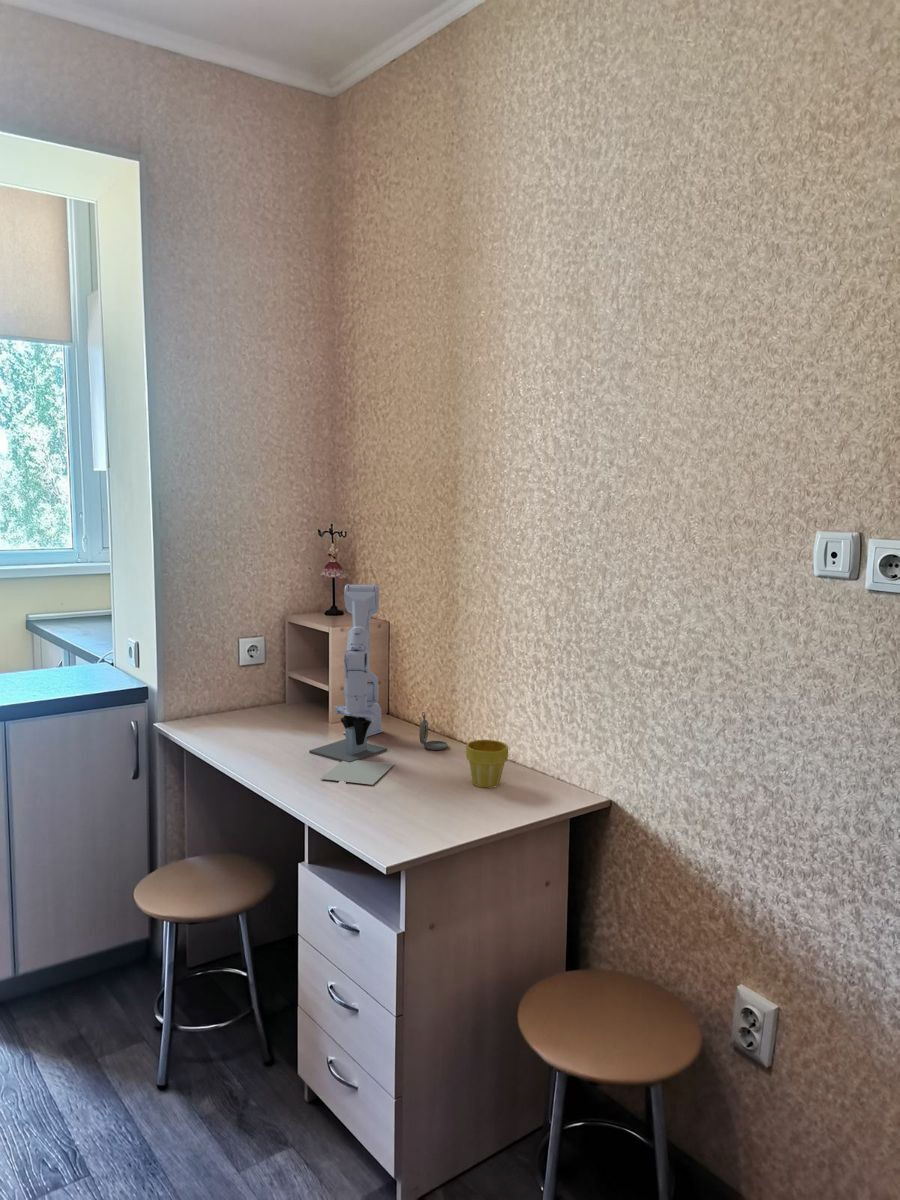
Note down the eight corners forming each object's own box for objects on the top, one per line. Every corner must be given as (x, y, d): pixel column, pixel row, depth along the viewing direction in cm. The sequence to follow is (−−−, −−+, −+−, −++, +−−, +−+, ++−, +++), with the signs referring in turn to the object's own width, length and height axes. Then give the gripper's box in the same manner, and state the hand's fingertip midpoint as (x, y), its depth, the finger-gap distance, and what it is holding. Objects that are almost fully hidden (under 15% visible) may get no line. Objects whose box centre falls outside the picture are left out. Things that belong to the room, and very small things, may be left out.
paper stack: (429, 770, 224) (429, 767, 224) (398, 803, 200) (398, 800, 200) (345, 761, 230) (345, 758, 230) (305, 792, 206) (305, 789, 206)
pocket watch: (451, 749, 240) (451, 714, 239) (422, 752, 237) (423, 717, 236) (440, 741, 248) (441, 707, 247) (412, 744, 245) (413, 710, 243)
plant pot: (514, 781, 215) (515, 743, 214) (495, 793, 206) (496, 754, 205) (478, 774, 220) (478, 736, 219) (457, 785, 212) (458, 747, 210)
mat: (347, 740, 248) (347, 738, 248) (387, 750, 239) (387, 748, 239) (309, 752, 236) (309, 750, 236) (349, 763, 227) (349, 761, 227)
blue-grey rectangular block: (360, 748, 238) (360, 723, 237) (366, 749, 237) (366, 725, 236) (345, 753, 234) (345, 728, 233) (351, 755, 232) (351, 729, 231)
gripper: (326, 692, 234) (326, 741, 236) (366, 701, 226) (366, 751, 228) (344, 688, 240) (344, 735, 242) (384, 696, 231) (383, 745, 233)
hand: (356, 743), depth 235 cm, fingers closed on blue-grey rectangular block, 2 cm apart
